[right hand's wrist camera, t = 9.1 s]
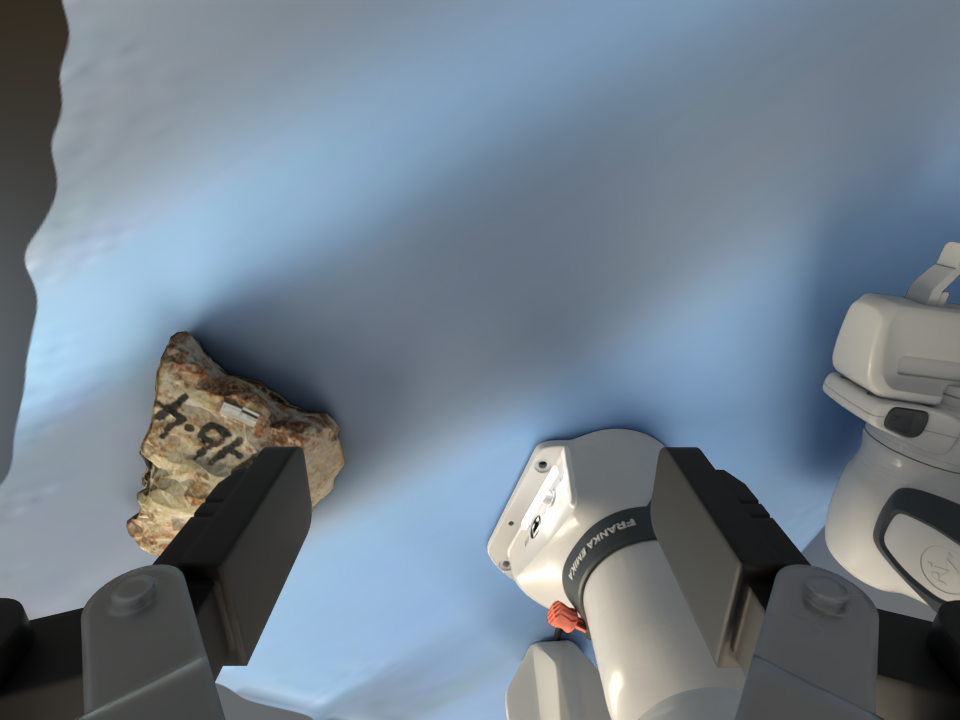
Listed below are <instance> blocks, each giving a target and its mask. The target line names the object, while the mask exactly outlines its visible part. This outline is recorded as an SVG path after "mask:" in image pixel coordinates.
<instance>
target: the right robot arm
mask: <svg viewBox="0 0 960 720" xmlns="http://www.w3.org/2000/svg"><path fill="white" fill-rule="evenodd" d="M311 517H312V503H311V496H310V489H309V482H308V475H307V469H306V462H305V456H304V452H303V450H302V448H301V447H299V446H267V447H264V448H263V449H262V450H261V452H260V453H259V454H258V456H257V457H256V458H255V460H254V461H253V462H252V464H251V465H250V466H249V468H248V469H238V470H237V471H235V472H234V473H232V474H231V475H229V476H228V477H226V478H225V479H223V480H222V481H221V482H219V483H218V484H217V485H216V487H215V488H214V489H213V490H212V491H211V493H210V494H209V495H208V496H207V498H206V499H205V503H202V504H201V505H200V506H199V508H198V509H197V510H196V511H195V513H194V517H191V518H190V519H189V520H188V521H187V522H186V524H185V525H184V526H183V527H182V529H181V530H180V531H179V532H178V534H177V535H176V536H175V537H174V539H173V540H172V541H171V542H170V544H169V545H168V546H167V547H166V549H165V550H164V551H163V552H162V554H161V555H160V556H159V557H158V558H157V560H156V561H155V562H154V563H153V565H150V566H145V567H141V568H137V569H134V570H131V571H129V572H127V573H124V574H122V575H120V576H118V577H117V578H115V579H113V580H111V581H110V582H108V583H107V584H105V585H104V586H103V587H102V588H100V589H99V590H98V591H97V592H96V593H95V594H94V595H93V596H92V597H91V598H90V599H89V601H88V602H87V603H86V605H85V607H84V608H81V609H76V610H72V611H68V612H64V613H59V614H55V615H51V616H47V617H43V618H38V619H34V620H30V621H29V619H28V617H27V615H26V613H25V610H24V608H23V606H22V604H21V603H20V602H18V601H16V600H14V599H9V598H0V720H225V716H224V713H223V709H222V706H221V702H220V699H219V695H218V692H217V688H216V685H215V681H216V679H217V677H218V675H219V673H220V671H221V669H222V667H223V666H247V664H248V662H249V660H250V658H251V656H252V653H253V651H254V649H255V647H256V645H257V643H258V640H259V638H260V636H261V634H262V632H263V629H264V627H265V625H266V623H267V621H268V619H269V616H270V614H271V612H272V610H273V608H274V606H275V603H276V601H277V599H278V597H279V595H280V592H281V590H282V588H283V586H284V584H285V582H286V579H287V577H288V575H289V573H290V571H291V569H292V566H293V564H294V562H295V560H296V558H297V555H298V553H299V551H300V549H301V547H302V545H303V542H304V540H305V538H306V536H307V534H308V531H309V528H310V524H311ZM651 522H652V527H653V530H654V533H655V536H656V538H657V540H658V542H659V544H660V546H661V549H662V551H663V553H664V555H665V557H666V559H667V561H668V564H669V566H670V568H671V570H672V572H673V574H674V576H675V579H676V581H677V583H678V585H679V587H680V589H681V592H682V594H683V596H684V598H685V600H686V602H687V604H688V607H689V609H690V611H691V613H692V615H693V617H694V619H695V622H696V624H697V626H698V628H699V630H700V632H701V635H702V637H703V639H704V641H705V643H706V645H707V647H708V650H709V652H710V654H711V656H712V658H713V660H714V662H715V665H716V667H717V668H741V669H742V671H743V673H744V675H745V677H746V681H745V685H744V688H743V692H742V695H741V699H740V702H739V706H738V709H737V713H736V716H735V720H960V600H953V601H948V602H946V603H944V604H942V605H941V606H940V608H939V610H938V612H937V615H936V617H935V619H934V621H933V622H930V621H926V620H922V619H918V618H914V617H910V616H905V615H901V614H897V613H893V612H889V611H884V610H880V609H877V608H876V607H875V605H874V603H873V602H872V601H871V599H870V598H869V597H868V596H867V595H866V594H865V593H864V592H863V591H862V590H861V589H860V588H858V587H857V586H856V585H855V584H853V583H852V582H850V581H849V580H847V579H845V578H843V577H842V576H840V575H838V574H836V573H833V572H831V571H828V570H826V569H823V568H819V567H815V566H811V565H810V563H809V562H808V561H807V560H806V559H805V557H804V556H803V555H802V554H801V552H800V551H799V550H798V549H797V548H796V546H795V545H794V544H793V543H792V541H791V540H790V539H789V538H788V536H787V535H786V534H785V533H784V532H783V530H782V529H781V528H780V527H779V525H778V524H777V523H776V522H775V520H774V519H773V518H770V514H769V513H768V512H767V511H766V509H765V508H764V507H763V506H762V504H759V503H758V500H757V498H756V497H755V496H754V495H753V493H752V492H751V491H750V490H749V488H748V487H747V486H746V485H745V484H744V483H743V482H741V481H740V480H738V479H737V478H735V477H734V476H732V475H731V474H729V473H728V472H726V471H725V470H715V468H714V467H713V466H712V465H711V463H710V462H709V461H708V459H707V458H706V457H705V455H704V454H703V453H702V451H701V450H700V449H699V448H697V447H663V448H662V449H661V450H660V452H659V455H658V461H657V467H656V474H655V480H654V487H653V494H652V500H651Z"/></svg>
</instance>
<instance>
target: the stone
mask: <svg viewBox="0 0 960 720" xmlns="http://www.w3.org/2000/svg"><path fill="white" fill-rule="evenodd" d="M339 430H340V428H339V426H338V425H337V423H336V421H335V420H333V419H332V418H331V417H329V416H328V414H327V413H317V412H306V411H304V410H302V409H301V408H299V407H296V406H292V405H290V404H289V403H288V402H287V401H286V400H285V399H284V398H282V397H281V396H280V395H279V394H277V393H275V392H273V391H271V390H269V389H268V388H267V387H266V386H265V385H264V384H263V383H261V382H258V381H255V380H251V379H245V378H244V377H242V376H230V375H228V374H227V373H226V372H225V371H224V370H223V369H222V368H221V367H220V366H219V365H218V364H216V363H215V362H214V361H212V359H211V357H210V356H209V355H207V354H206V353H205V352H204V351H203V350H202V349H201V346H200V343H199V342H198V341H197V340H196V339H195V338H194V336H193V335H192V334H190V333H188V332H187V331H184V332H177V333H176V334H174V335H173V336H172V337H171V338H170V341H169V344H168V345H167V347H166V349H165V351H164V353H163V355H162V357H161V363H160V365H159V366H158V369H157V374H156V385H155V401H154V407H153V411H152V419H151V424H150V427H149V429H148V431H147V433H146V436H145V438H144V440H143V442H142V444H141V451H140V455H141V456H142V458H143V459H144V461H145V463H146V465H147V469H146V471H145V473H144V474H143V475H142V478H141V482H142V485H144V489H143V490H142V491H140V492H138V493H137V501H138V503H139V504H140V505H141V510H140V512H139V513H137V514H136V515H134V516H133V517H131V518H130V519H129V520H128V521H127V524H126V527H127V530H128V533H129V535H130V536H132V537H133V538H135V540H136V542H137V544H138V545H139V546H140V547H141V548H142V549H143V550H144V551H146V552H148V553H151V554H155V555H159V556H160V555H161V554H162V552H163V551H164V550H165V549H166V547H167V546H168V545H169V544H170V542H171V541H172V540H173V539H174V537H175V536H176V535H177V534H178V532H179V531H180V530H181V529H182V527H183V526H184V525H185V524H186V522H187V521H188V520H189V519H190V518H191V517H194V513H195V511H196V510H197V509H198V508H199V506H200V505H201V504H202V503H205V499H206V498H207V496H208V495H209V494H210V493H211V491H212V490H213V489H214V488H215V487H216V485H217V484H218V483H219V482H221V481H222V480H223V479H225V478H226V477H228V476H229V475H231V474H232V473H234V472H235V471H237V470H238V469H248V468H249V466H250V465H251V464H252V462H253V461H254V460H255V458H256V457H257V456H258V454H259V453H260V452H261V450H262V449H263V448H264V447H267V446H299V447H301V448H302V450H303V452H304V456H305V462H306V469H307V475H308V482H309V489H310V496H311V503H312V512H313V509H314V507H315V505H316V504H317V503H318V502H319V501H320V500H321V499H323V498H324V497H326V495H327V494H328V493H329V492H330V491H331V490H332V489H333V486H334V478H335V477H336V475H337V474H338V472H339V471H340V470H341V468H342V467H343V466H344V464H345V459H344V454H343V448H342V446H341V444H340V441H339V439H338V436H337V435H338V432H339Z"/></svg>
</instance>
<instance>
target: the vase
mask: <svg viewBox="0 0 960 720" xmlns="http://www.w3.org/2000/svg"><path fill="white" fill-rule="evenodd" d="M505 704H506V713H507V720H612V719H611V717H610V714H609V711H608V707H607V704H606V699H605V695H604V690H603V686H602V681H601V677H600V673H599V670H598V669H597V668H596V667H595V666H594V664H593V663H592V662H591V661H590V660H589V659H588V657H587V656H586V655H585V654H584V653H583V652H582V651H581V649H580V648H579V647H578V646H577V645H576V644H575V643H574V642H571V641H570V640H563V641H548V642H536V643H534V644H533V645H531V646H530V647H529V649H528V651H527V653H526V655H525V657H524V658H523V660H522V662H521V664H520V666H519V668H518V670H517V672H516V674H515V676H514V678H513V680H512V682H511V684H510V686H509V687H508V689H507V691H506V694H505Z"/></svg>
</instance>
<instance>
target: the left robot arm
mask: <svg viewBox="0 0 960 720" xmlns="http://www.w3.org/2000/svg"><path fill="white" fill-rule="evenodd" d="M959 275H960V243H959V242H949V243H947V244H946V245H945V246H944V249H943V251H942V253H941V255H940V257H939V259H938V261H937V263H936V264H934V265H933V266H931V267H930V268H929V269H928V270H927V271H925V272H924V273H923V274H922V275H921V276H919V277H918V278H917V279H916V280H915V281H913V282H912V283H911V285H910V287H909V289H908V291H907V294H906V296H905V297H900V296H892V295H885V294H877V293H866V294H864V295H863V296H861V297H860V298H859V299H857V300H856V301H855V302H854V303H853V304H852V305H851V306H850V308H849V310H848V312H847V314H846V316H845V319H844V321H843V324H842V326H841V329H840V332H839V335H838V338H837V341H836V344H835V347H834V351H833V358H832V360H833V365H834V367H835V369H836V370H837V371H838V372H832V373H830V374H829V375H828V376H827V378H826V379H825V381H824V384H823V391H824V392H825V393H826V394H827V395H829V396H830V397H831V398H832V399H833V400H835V401H836V402H837V403H839V404H840V405H841V406H843V407H844V408H845V409H847V410H848V411H850V412H852V413H853V414H855V415H856V416H858V417H859V418H861V419H863V420H864V421H866V423H865V425H864V428H863V432H862V443H861V446H860V448H859V450H858V452H857V453H856V455H855V456H854V457H853V458H852V459H851V460H850V461H849V462H848V463H847V464H846V466H845V468H844V470H843V472H842V474H841V477H840V479H839V481H838V483H837V485H836V488H835V490H834V493H833V496H832V498H831V501H830V504H829V508H828V512H827V516H826V523H825V538H826V543H827V546H828V548H829V550H830V552H831V553H832V555H833V556H834V558H835V559H836V560H837V561H838V562H839V563H840V564H841V565H842V566H843V567H844V568H845V569H846V570H847V571H848V572H849V573H851V574H852V575H853V576H855V577H856V578H858V579H859V580H861V581H863V582H864V583H866V584H868V585H870V586H872V587H875V588H877V589H880V590H884V591H888V592H898V593H902V594H905V595H908V596H910V597H913V598H915V599H917V600H919V601H921V602H923V603H925V604H927V605H928V606H930V607H931V608H932V609H933V610H934V611H935V612H936V613H937V612H938V610H939V608H940V606H941V605H942V604H944V603H946V602H948V601H953V600H960V304H952V303H946V300H947V298H948V296H949V292H946V291H943V290H944V289H945V288H946V287H947V286H948V285H950V284H951V283H952V282H953V281H954V280H955V279H956V278H957V277H958V276H959ZM663 447H665V446H664V445H663V444H662V443H660V442H659V441H658V440H656V439H654V438H653V437H651V436H649V435H647V434H644V433H641V432H638V431H634V430H628V429H605V430H600V431H595V432H592V433H589V434H586V435H583V436H580V437H578V438H575V439H571V440H550V441H544V442H541V443H540V444H538V445H537V446H536V448H535V450H534V451H533V453H532V455H531V457H530V459H529V461H528V463H527V465H526V467H525V469H524V471H523V473H522V475H521V478H520V480H519V482H518V484H517V486H516V488H515V490H514V492H513V494H512V496H511V498H510V500H509V502H508V504H507V506H506V508H505V510H504V512H503V514H502V516H501V518H500V520H499V522H498V524H497V526H496V528H495V530H494V532H493V534H492V536H491V538H490V540H489V542H488V545H487V549H488V553H489V556H490V557H491V559H492V561H493V562H494V563H495V564H496V566H497V567H498V568H499V569H500V570H501V571H502V572H504V573H505V574H506V575H507V576H509V577H510V578H512V579H513V580H515V581H516V582H517V584H518V586H519V587H520V588H521V589H522V590H523V592H524V593H525V594H527V595H528V596H529V597H530V598H531V599H533V600H534V601H536V602H537V603H539V604H540V605H542V606H544V607H546V608H547V609H549V612H548V621H549V624H550V625H552V626H554V627H556V630H555V634H554V639H553V641H560V638H561V634H562V630H564V631H565V632H567V633H570V632H572V631H573V630H574V629H575V628H576V629H578V630H580V631H582V632H584V634H585V637H586V638H588V639H590V640H592V643H593V648H594V652H595V656H596V660H597V665H598V669H599V673H600V677H601V681H602V686H603V690H604V695H605V699H606V704H607V707H608V711H609V714H610V717H611V719H612V720H735V716H736V713H737V709H738V706H739V702H740V699H741V695H742V692H743V688H744V685H745V681H746V677H745V675H744V673H743V671H742V669H741V668H717V667H716V665H715V662H714V660H713V658H712V656H711V654H710V652H709V650H708V647H707V645H706V643H705V641H704V639H703V637H702V635H701V632H700V630H699V628H698V626H697V624H696V622H695V619H694V617H693V615H692V613H691V611H690V609H689V607H688V604H687V602H686V600H685V598H684V596H683V594H682V592H681V589H680V587H679V585H678V583H677V581H676V579H675V576H674V574H673V572H672V570H671V568H670V566H669V564H668V561H667V559H666V557H665V555H664V553H663V551H662V549H661V546H660V544H659V542H658V540H657V538H656V536H655V533H654V530H653V527H652V522H651V500H652V494H653V487H654V480H655V474H656V467H657V461H658V455H659V452H660V450H661V449H662V448H663ZM541 461H545V462H546V463H545V464H539V463H540V462H541ZM504 561H509V562H504Z"/></svg>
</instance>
